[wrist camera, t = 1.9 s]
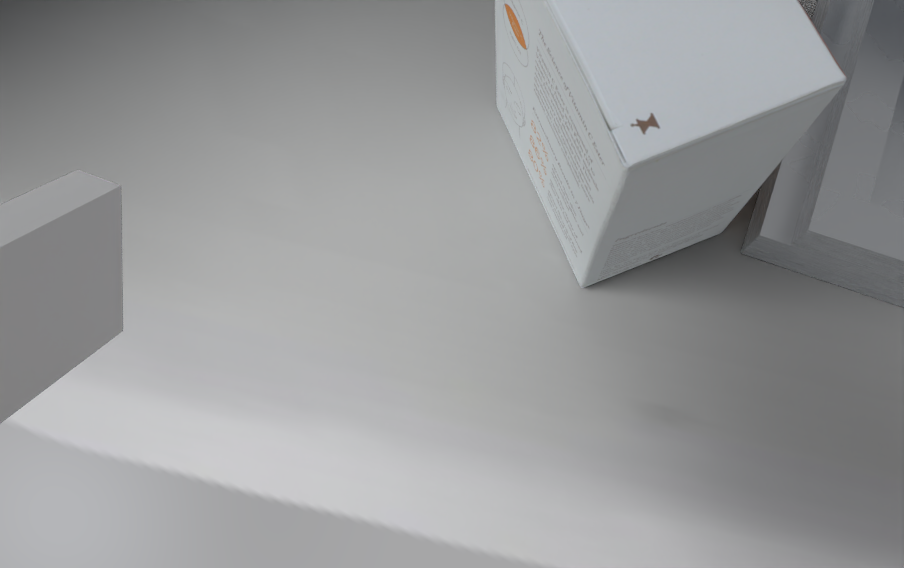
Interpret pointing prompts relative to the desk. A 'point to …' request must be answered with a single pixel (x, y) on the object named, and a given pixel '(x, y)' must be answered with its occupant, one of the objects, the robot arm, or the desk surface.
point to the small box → (654, 114)
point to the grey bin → (845, 164)
